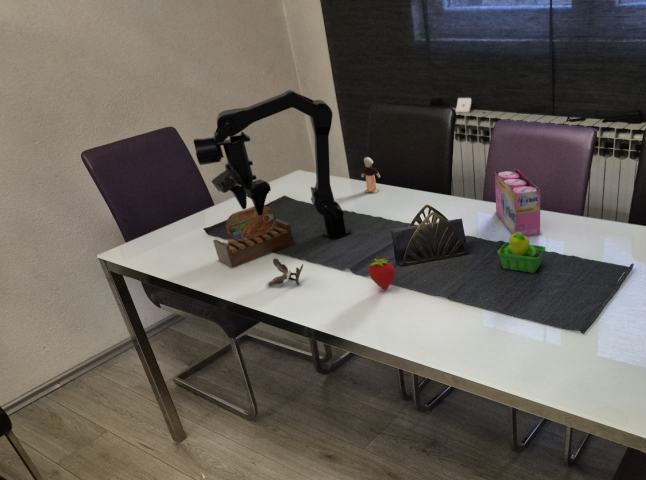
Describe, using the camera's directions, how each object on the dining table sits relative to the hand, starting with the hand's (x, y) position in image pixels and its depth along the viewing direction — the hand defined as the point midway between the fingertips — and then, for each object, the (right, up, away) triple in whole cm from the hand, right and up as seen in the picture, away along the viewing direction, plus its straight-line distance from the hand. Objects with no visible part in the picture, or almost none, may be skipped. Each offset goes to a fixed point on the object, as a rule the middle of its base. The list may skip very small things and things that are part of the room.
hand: (252, 211), depth 177 cm
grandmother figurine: (+29, +17, +45) cm, 57 cm away
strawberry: (+42, -25, -22) cm, 54 cm away
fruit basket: (+78, -19, -16) cm, 82 cm away
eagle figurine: (+14, -23, -15) cm, 31 cm away
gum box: (+79, -1, +10) cm, 80 cm away
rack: (0, -11, +5) cm, 12 cm away
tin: (0, -7, +2) cm, 7 cm away
